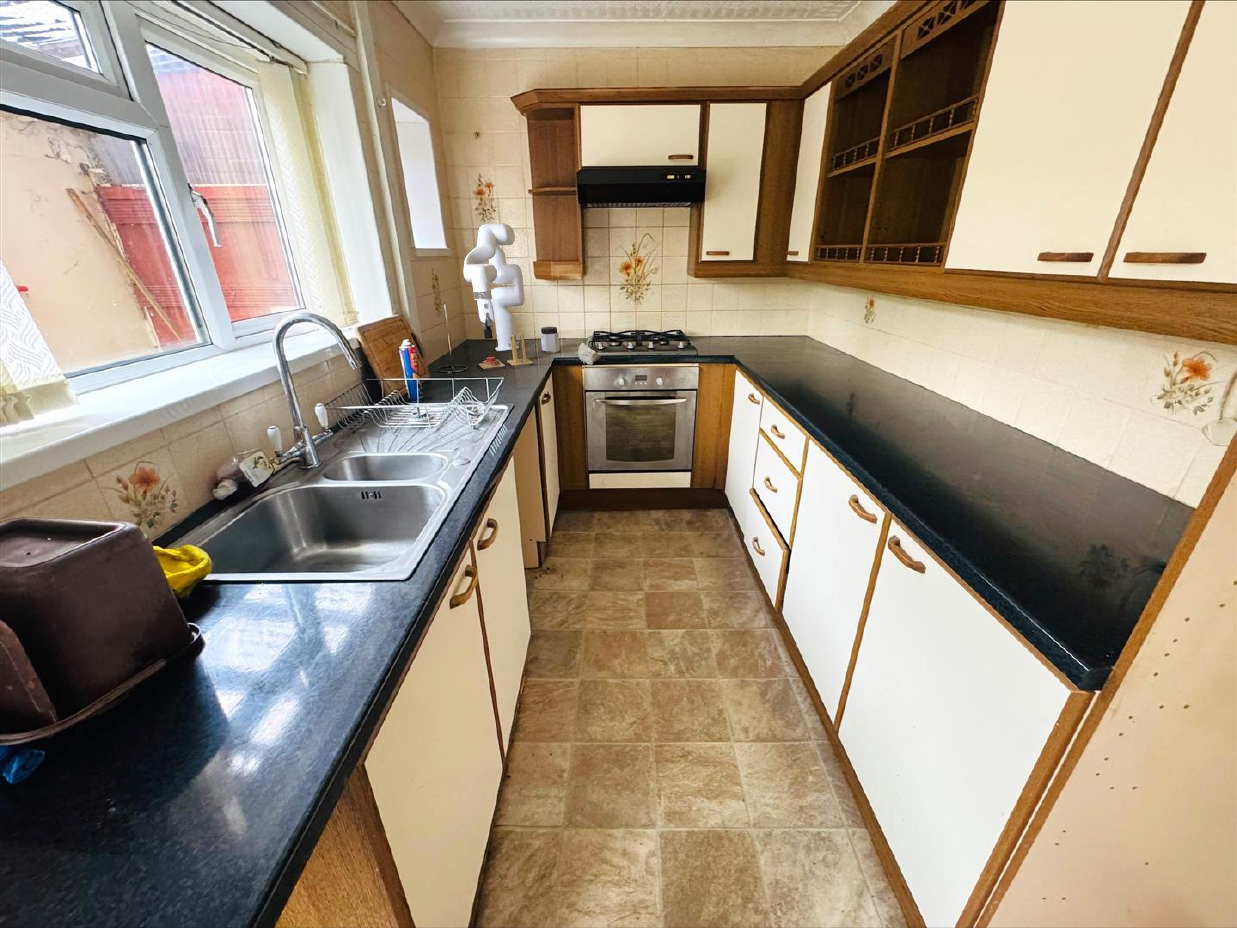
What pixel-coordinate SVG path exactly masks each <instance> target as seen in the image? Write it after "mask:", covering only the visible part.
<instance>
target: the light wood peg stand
mask: <svg viewBox="0 0 1237 928" xmlns="http://www.w3.org/2000/svg"><path fill="white" fill-rule="evenodd" d="M515 335H516V334H515ZM515 335H513V334H510V336H511V338H510V339H511V344H512V350H511V351H512V359H509V360H506V362H507V363H508V364H510V365H511V366H513V367H514V366H521V365H528V364H535V363H534V361H532V360H531V359H529V358H528V357H527V354H526V346H525V345H526V343H525V336H524V333H521V332H519V333H518V335H520V339H521V340H520V341H519V349H520V355H521V358H518V353H517V350H518V349H516V341H515Z"/></svg>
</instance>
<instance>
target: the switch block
mask: <svg viewBox="0 0 1237 928" xmlns="http://www.w3.org/2000/svg"><path fill="white" fill-rule="evenodd" d="M495 360H496V361H494V362H487V360H486V359H485V360H483V361H482V362H480V363H478V365H479V366H480V367H481V368H482V369H483V370H485V369H493V368H501V367H506V365H505V364H504V363H503V362H502V361H500V359H497V358H495Z"/></svg>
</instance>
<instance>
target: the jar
mask: <svg viewBox="0 0 1237 928" xmlns="http://www.w3.org/2000/svg"><path fill="white" fill-rule="evenodd" d="M540 332H541V333H540V343H541V350H542V351H545V352H550V353H552V354H554V353H555V354H556V353H558V352H560V336H559V332H558V327H557V326H544V327H541V328H540Z"/></svg>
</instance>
